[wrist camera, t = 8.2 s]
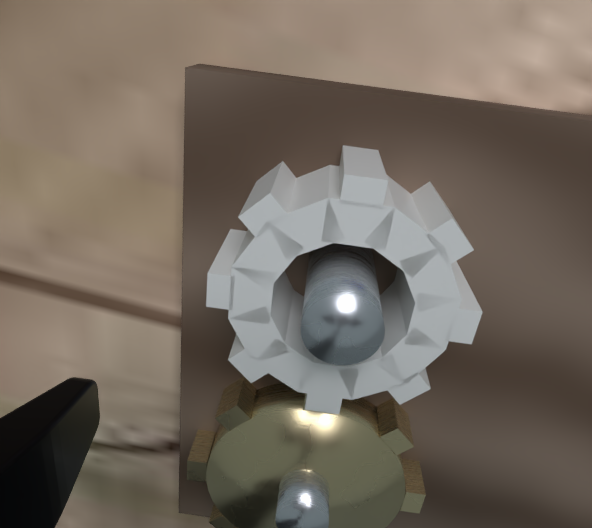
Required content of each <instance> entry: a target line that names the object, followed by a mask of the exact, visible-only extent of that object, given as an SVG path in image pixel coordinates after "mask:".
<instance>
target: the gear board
mask: <svg viewBox="0 0 592 528" xmlns="http://www.w3.org/2000/svg"><path fill="white" fill-rule="evenodd" d="M343 145H345V146H352V147H359V148H366V149H374V150H378V151H379V154H380V157H381V160H382V163H383V166H384V169H385V172H386V175H388V176H389V177H390V178H391V179H393V180H394V181H395V182H396V183H398V184H399V185H400V186H402V187H403V188H404V189H405V190H407V191H408V192H409V193H410V194H411V193H413V192H414V191H416V190H417V189H419V188H420V187H422V186H423V185H425V184H426V183H428V182H429V181H430V182H431V184H432V185H433V187H434V188H435V189H436V191H437V192H438V194H439V195H440V197H441V198H442V200H443V201H444V203H445V204H446V206H447V207H448V209H449V210H450V212H451V213H452V215H453V217H454V218H455V220H456V221H457V223H458V225H459V226H460V228H461V230H462V231H463V233H464V234H465V236H466V238H467V239H468V241H469V242H470V244H471V246H472V247H473V249H474V250H473V251H472V252H470V253H468V254H467V255H465V256H463V257H462V258H460V259H458V260H457V263H458V265H459V267H460V269H461V271H462V273H463V275H464V277H465V279H466V280H467V282H468V284H469V286H470V288H471V290H472V292H473V294H474V296H475V298H476V300H477V302H478V304H479V306H480V308H481V310H482V312H483V313H482V315H481V318H480V321H479V324H478V327H477V330H476V333H475V336H474V339H473V342H472V344H465V343H458V342H451V341H449V342H448V345H447V348H446V350H445V351H444V352H443V353H442V354H441V355H439V356H438V357H437V358H436V359H435V360H434V361H433V362H431V363H430V364H429V365H428V366H427V367H426V372H427V376H428V380H429V384H430V387H431V389H430V390H428V391H426V392H424V393H422V394H420V395H418V396H416V397H414V398H412V399H410V400H408V401H406V402H404V403H403V404H401V405H400V404H399V403H398V402H397V403H398V404H399V405H400V406H401V407H402V408H403V409H404V411H405V412H406V413H407V414H408V416H409V421H410V427H411V432H412V437H413V443H414V447H413V448H411V449H409V450H407V451H405V452H403V453H401V457H402V459H407V460H414V461H419V462H420V467H421V472H422V478H423V483H424V488H425V493H426V496H425V499H424V502H423V505H422V508H421V510H420V513H412V512H405V511H400V510H399V512H398V514H397V515H396V517H395V518H394V519H393V520H392V522H391V523H390V524H389V525H388V526H387V527H386V528H592V116H590V115H582V114H575V113H567V112H560V111H552V110H544V109H537V108H529V107H522V106H514V105H507V104H499V103H492V102H484V101H477V100H469V99H461V98H454V97H446V96H439V95H431V94H424V93H416V92H409V91H401V90H393V89H386V88H378V87H371V86H363V85H356V84H348V83H341V82H333V81H325V80H318V79H310V78H303V77H295V76H288V75H280V74H273V73H265V72H257V71H250V70H242V69H235V68H227V67H220V66H212V65H205V64H197V65H193V66H189V67H186V68H185V123H184V192H183V260H182V329H181V397H180V466H179V513H185V514H191V515H198V516H205V517H210V516H211V512H212V508H213V505H214V502H213V500H212V498H211V496H210V493H209V491H208V487H207V482H199V481H192V480H187V460H188V457H189V454H190V451H191V448H192V445H193V442H194V439H195V437H196V434H197V431H198V429H199V430H206V431H213V432H216V433H217V430H218V427H219V424H220V423H219V422H218V421H217V420H216V419H215V416H216V413H217V410H218V407H219V403H220V400H221V397H222V394H223V390H224V388H226V387H228V386H229V385H231V384H233V383H234V382H236V381H238V380H239V379H241V378H242V377H244V376H243V375H242V374H241V373H240V372H239V371H238V370H237V369H236V368H235V367H234V365H233V364H232V363H231V362H230V361H229V360H228V358H229V355H230V352H231V349H232V345H233V342H234V339H235V336H236V332H235V330H234V328H233V327H232V325H231V323H230V321H229V319H228V312H229V310H227V309H220V308H213V307H206V296H207V274H208V271H209V269H210V267H211V265H212V264H213V262H214V260H215V258H216V256H217V254H218V252H219V250H220V248H221V246H222V244H223V242H224V241H225V239H226V237H227V235H228V233H229V231H230V229H235V230H242V231H247V230H248V228H247V227H246V226H245V225H244V223H243V222H242V221H241V220H240V219H239V218H238V216H239V214H240V212H241V210H242V208H243V206H244V204H245V203H246V201H247V199H248V197H249V195H250V193H251V191H252V189H253V187H254V185H255V183H256V181H258V180H259V179H260V178H261V177H263V176H264V175H265V174H267V173H268V172H269V171H270V170H272V169H273V168H274V167H276V166H277V165H278V164H280V163H281V162H282V161H283V162H284V163H285V164H286V165H287V167H288V168H289V169H290V171H291V172H292V173H293V174H294V176H295V177H296V178H298V177H300V176H303V175H305V174H308V173H310V172H313V171H316V170H318V169H321V168H323V167H326V166H328V165H334V166H339V165H340V159H341V153H342V146H343ZM371 249H372V252H373V258H374V264H375V271H376V277H377V283H378V289H379V295H381V294H382V293H383V292H384V291H385V290H386V289H387V288H388V287H389V286H390V285H391V284H392V283H393V282H394V281H395V277H396V273H397V268H398V267H397V266H396V265H395V264H393V263H392V262H391V261H389V260H388V259H387V258H385V257H384V256H383V255H381V254H380V253H379V252H377V251H376V250H375V249H373V248H371ZM309 254H310V252H307V253H304V254H301V255H298V256H296V258H295V259H294V260H293V261H292V262H291V263H290V265H289V266H288V267H287V268H286V269H285V273H286V275H287V277H288V279H289V281H290V283H291V285H292V287H293V289H294V290H295V291H296V292H298V293H299V294H300V295H302V296H303V297H304V295H305V286H306V278H307V269H308V261H309ZM278 383H283V382H281V381H280V380H278V379H277V378H275V377H273V376H272V375H270V374H269V373H268V374H266V375H264V376H263V377H261V378H259V379H258V380H256V381H254V382H253V383H252V384H253V385H254V386H255V387H256V388H257V390H258V389H261V388H263V387H266V386H269V385H273V384H278ZM363 398H365V399H366V400H368V401H369V402H371V403H372V404H373V405H375V406H376V407H377V405H379V404H381V403H383V402H385V401H387V400H389V399H391V398H394V397H393V396H392V395H391V394H390V393H389V392H388V390H387V391H383V392H379V393H376V394H372V395H368V396H365V397H363Z"/></svg>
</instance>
